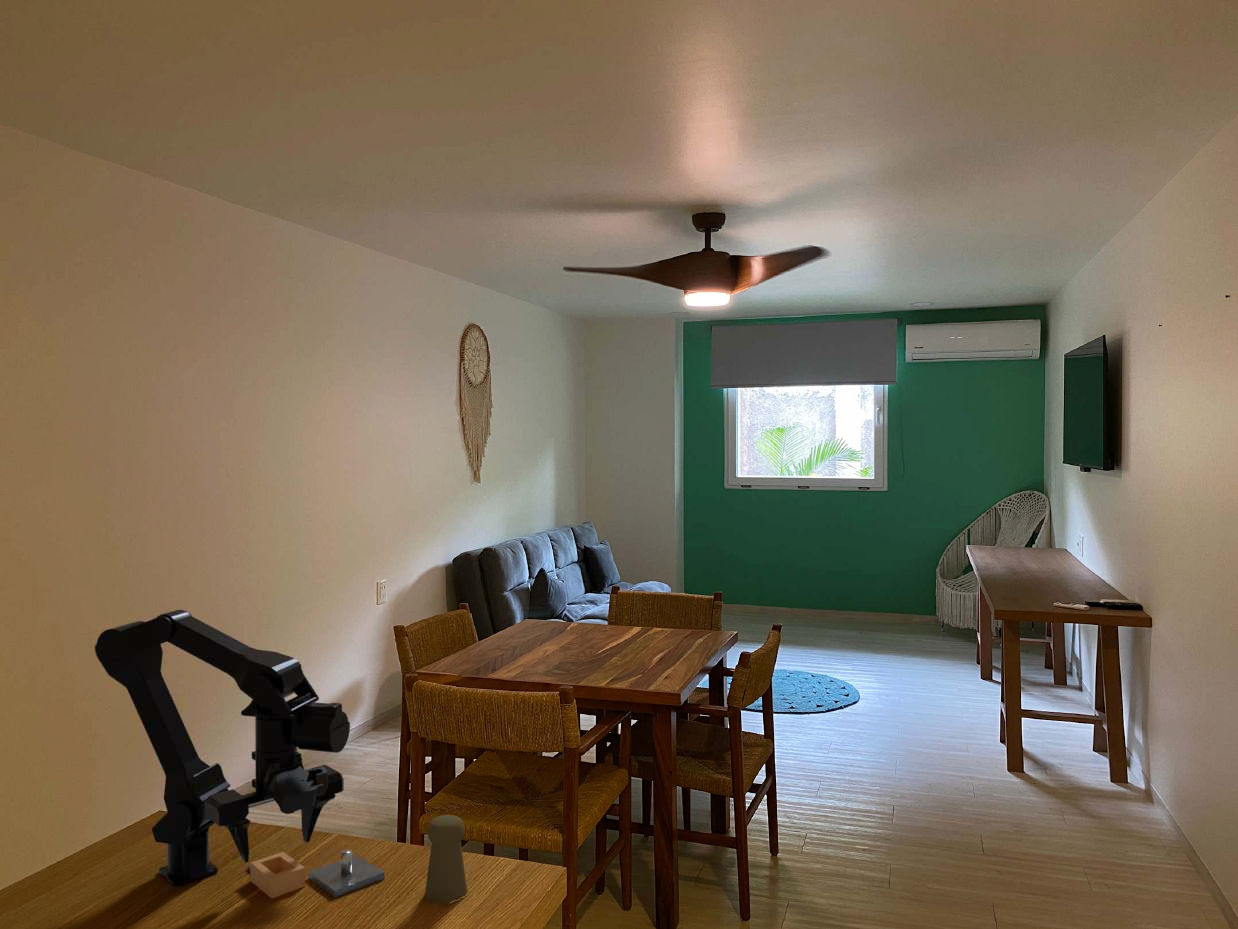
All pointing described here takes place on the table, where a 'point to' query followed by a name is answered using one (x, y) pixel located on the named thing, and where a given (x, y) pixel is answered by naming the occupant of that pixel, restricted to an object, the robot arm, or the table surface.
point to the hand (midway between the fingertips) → (276, 851)
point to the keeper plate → (346, 874)
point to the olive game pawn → (445, 860)
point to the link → (277, 874)
